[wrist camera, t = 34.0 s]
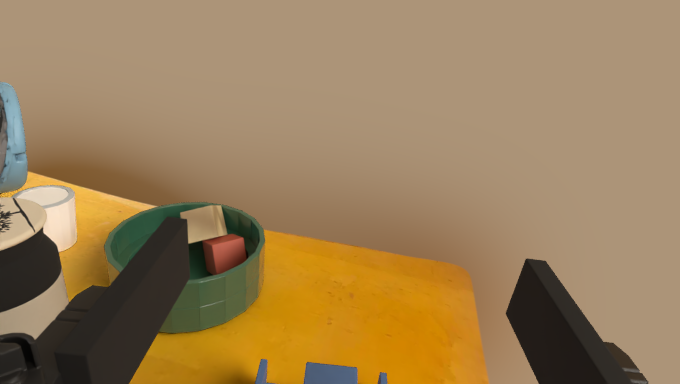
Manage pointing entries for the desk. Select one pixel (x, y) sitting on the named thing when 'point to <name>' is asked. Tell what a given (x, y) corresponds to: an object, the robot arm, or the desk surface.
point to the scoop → (321, 374)
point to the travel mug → (28, 270)
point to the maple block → (205, 223)
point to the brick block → (224, 253)
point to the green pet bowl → (196, 267)
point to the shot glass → (55, 212)
